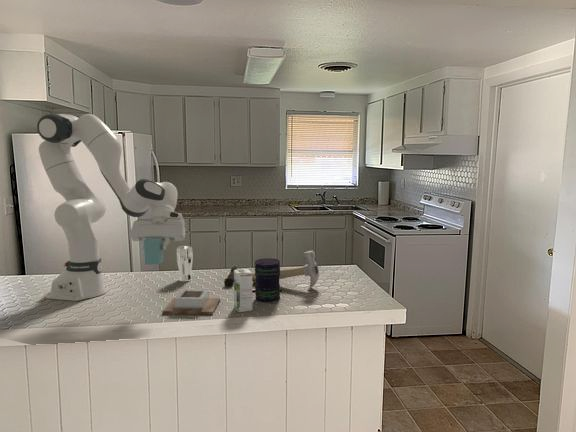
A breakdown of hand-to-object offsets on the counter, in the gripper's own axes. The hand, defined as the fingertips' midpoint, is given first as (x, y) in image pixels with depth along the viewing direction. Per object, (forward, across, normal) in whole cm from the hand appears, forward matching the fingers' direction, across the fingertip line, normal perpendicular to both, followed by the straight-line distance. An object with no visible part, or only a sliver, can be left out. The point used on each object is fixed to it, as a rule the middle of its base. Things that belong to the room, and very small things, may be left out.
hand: (154, 249), depth 161 cm
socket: (+15, +14, +14) cm, 25 cm away
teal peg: (+4, 0, +3) cm, 5 cm away
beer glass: (-8, +2, +39) cm, 40 cm away
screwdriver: (-11, +30, +43) cm, 53 cm away
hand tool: (-8, +22, +40) cm, 46 cm away
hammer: (-2, +46, +34) cm, 58 cm away
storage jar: (+9, +41, +23) cm, 47 cm away
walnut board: (+16, +14, +14) cm, 26 cm away
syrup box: (+17, +33, +14) cm, 39 cm away
